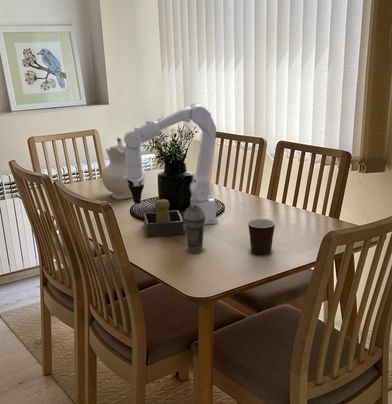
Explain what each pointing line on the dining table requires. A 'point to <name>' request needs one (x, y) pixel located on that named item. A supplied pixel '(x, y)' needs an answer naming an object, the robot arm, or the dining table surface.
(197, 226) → the beverage cup
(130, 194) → the ceramic pitcher
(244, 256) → the dining table surface
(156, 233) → the bin
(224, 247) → the dining table surface
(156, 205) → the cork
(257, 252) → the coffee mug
